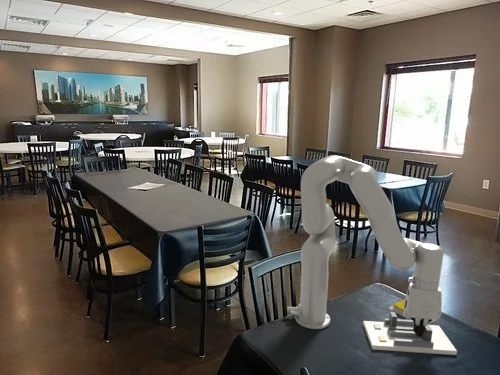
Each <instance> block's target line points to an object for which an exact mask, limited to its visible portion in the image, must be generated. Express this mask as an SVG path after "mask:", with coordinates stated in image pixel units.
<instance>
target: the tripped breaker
mask: <svg viewBox="0 0 500 375" xmlns="http://www.w3.org/2000/svg"><path fill="white" fill-rule="evenodd" d="M429 325H430V324H428V325H427V326H425V331H424V333H423V337H422V339H423V341H431V338H432V329H431V328H430V326H429Z"/></svg>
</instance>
